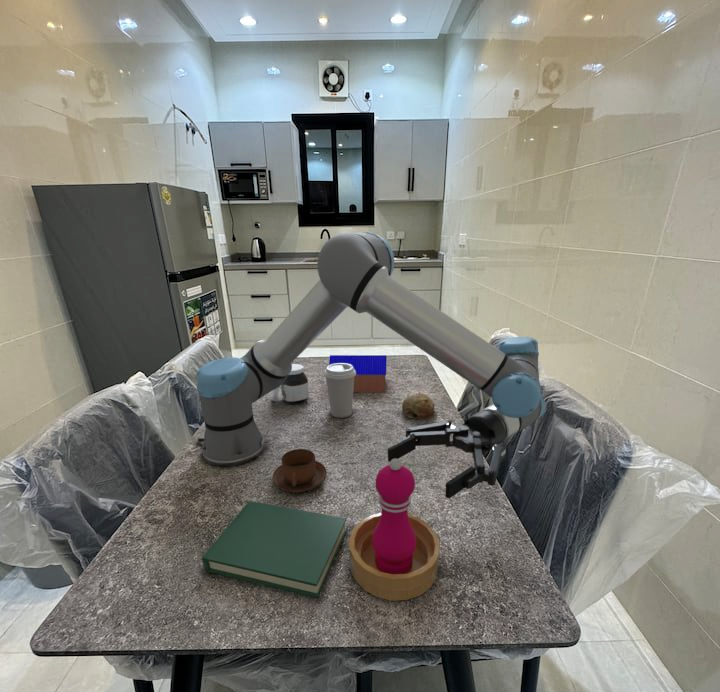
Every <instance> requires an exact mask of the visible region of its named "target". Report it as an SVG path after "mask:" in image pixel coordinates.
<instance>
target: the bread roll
mask: <svg viewBox="0 0 720 692" xmlns="http://www.w3.org/2000/svg"><path fill="white" fill-rule="evenodd" d="M401 408H402V412H403V414H404V416H406V417H407V418H409V419H415V420H428V419H431V418H432V417H433V416H434V413H435V402H434V400H433V399H432V398H431V397H430V396H428V395H427V394H425V393H422V392H418V393H415V394H412V395H407V397H405V398H404V400H403V402H402V403H401Z"/></svg>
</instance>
